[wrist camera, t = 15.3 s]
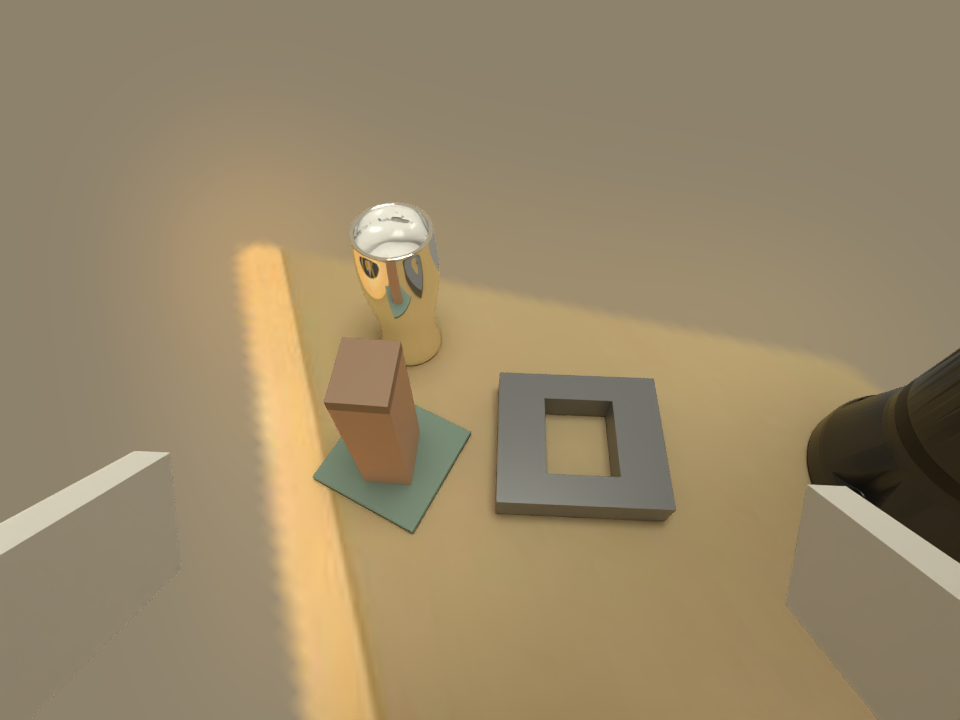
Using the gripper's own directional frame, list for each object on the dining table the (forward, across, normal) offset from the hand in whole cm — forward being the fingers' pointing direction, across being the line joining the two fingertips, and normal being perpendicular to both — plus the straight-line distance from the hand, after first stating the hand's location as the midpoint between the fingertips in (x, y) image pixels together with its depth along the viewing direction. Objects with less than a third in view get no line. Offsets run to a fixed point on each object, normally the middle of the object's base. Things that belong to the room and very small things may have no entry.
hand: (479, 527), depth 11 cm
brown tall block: (+32, -8, -12) cm, 35 cm away
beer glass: (+42, -9, -4) cm, 43 cm away
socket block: (+34, +8, -12) cm, 36 cm away
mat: (+32, -8, -12) cm, 36 cm away
